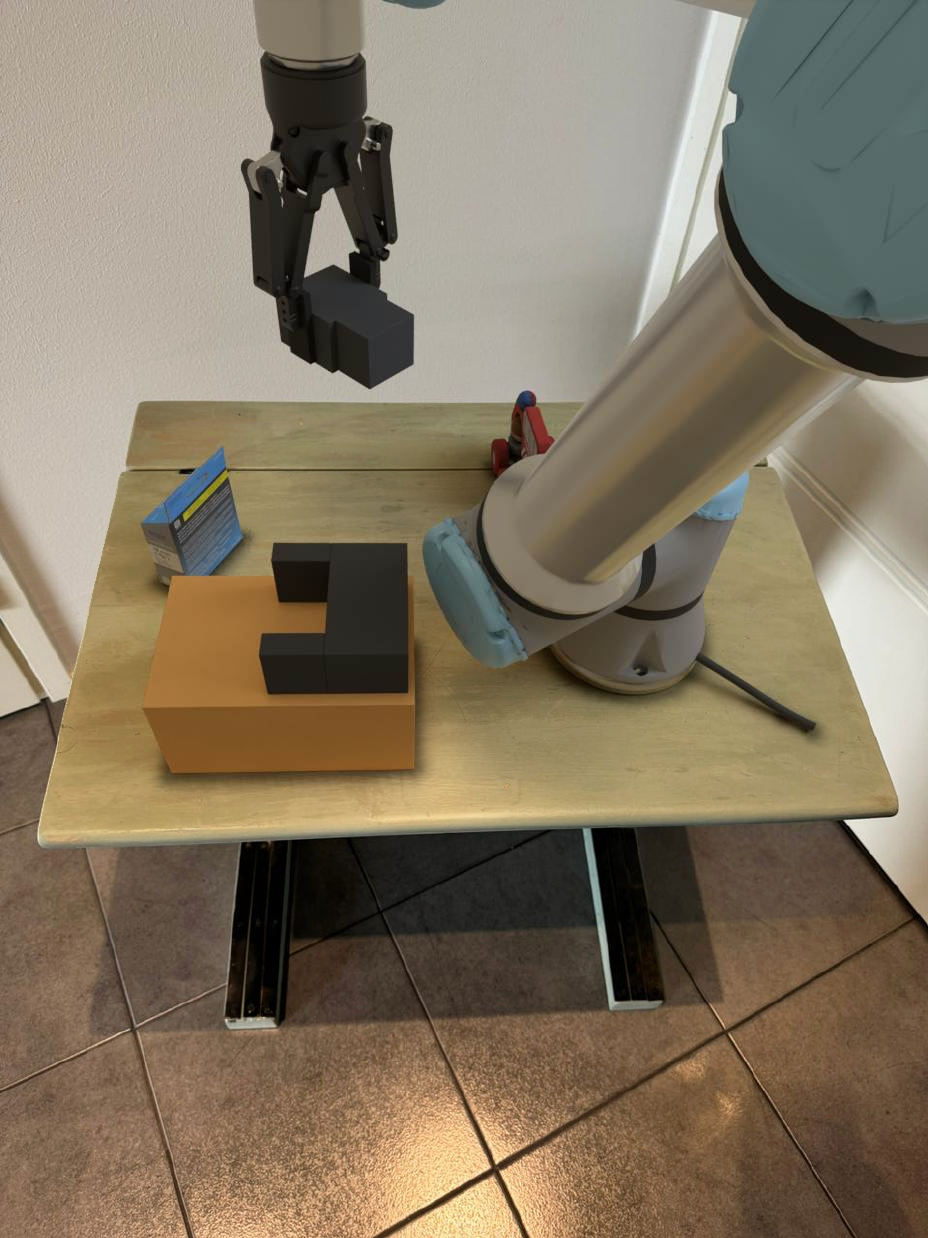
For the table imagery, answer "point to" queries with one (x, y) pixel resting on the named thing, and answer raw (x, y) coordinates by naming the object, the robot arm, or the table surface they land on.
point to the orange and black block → (289, 665)
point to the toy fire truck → (521, 435)
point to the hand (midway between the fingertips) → (335, 339)
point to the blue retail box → (194, 523)
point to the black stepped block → (356, 328)
